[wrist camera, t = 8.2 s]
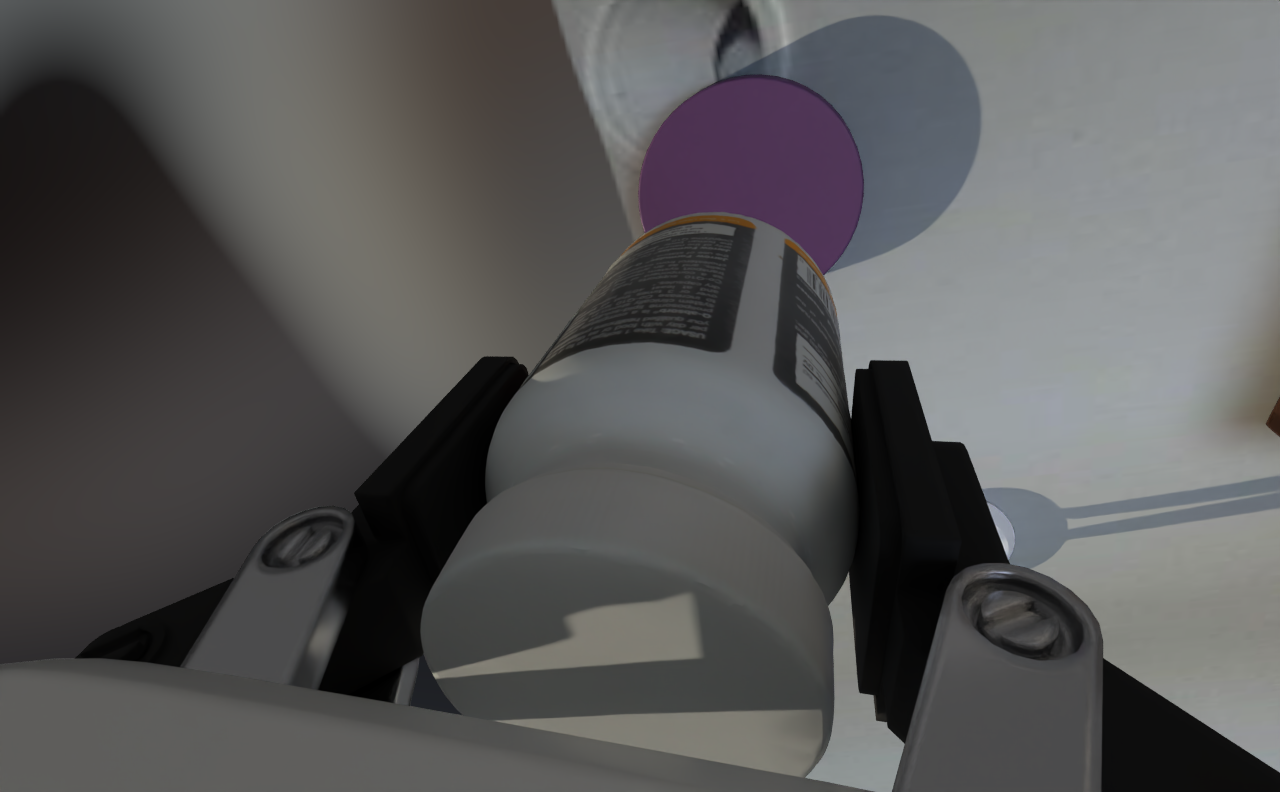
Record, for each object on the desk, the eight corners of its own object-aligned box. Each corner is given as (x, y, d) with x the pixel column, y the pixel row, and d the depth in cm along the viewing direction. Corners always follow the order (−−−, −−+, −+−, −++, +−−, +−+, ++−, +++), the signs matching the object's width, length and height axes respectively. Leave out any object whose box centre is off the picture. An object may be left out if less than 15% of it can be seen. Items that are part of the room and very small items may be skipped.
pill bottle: (589, 379, 16) (376, 734, 8) (633, 171, 13) (355, 418, 5) (786, 444, 16) (766, 882, 8) (882, 247, 13) (1015, 644, 5)
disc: (632, 87, 24) (625, 90, 23) (871, 61, 22) (874, 63, 21) (654, 296, 29) (649, 306, 28) (852, 293, 26) (855, 304, 25)
